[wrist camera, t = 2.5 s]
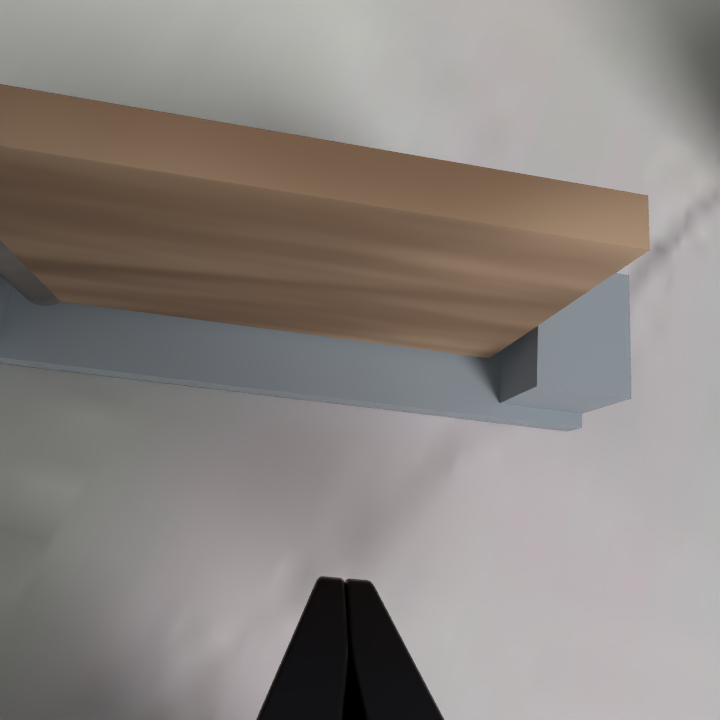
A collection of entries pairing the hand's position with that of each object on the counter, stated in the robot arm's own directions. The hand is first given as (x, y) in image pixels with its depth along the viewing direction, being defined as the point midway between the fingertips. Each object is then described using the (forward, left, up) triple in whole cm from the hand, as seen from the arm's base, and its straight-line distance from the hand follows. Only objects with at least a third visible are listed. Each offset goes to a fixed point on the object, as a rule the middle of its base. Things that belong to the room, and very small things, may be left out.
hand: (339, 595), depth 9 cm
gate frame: (+7, -4, -11) cm, 13 cm away
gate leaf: (+7, -4, -9) cm, 12 cm away
